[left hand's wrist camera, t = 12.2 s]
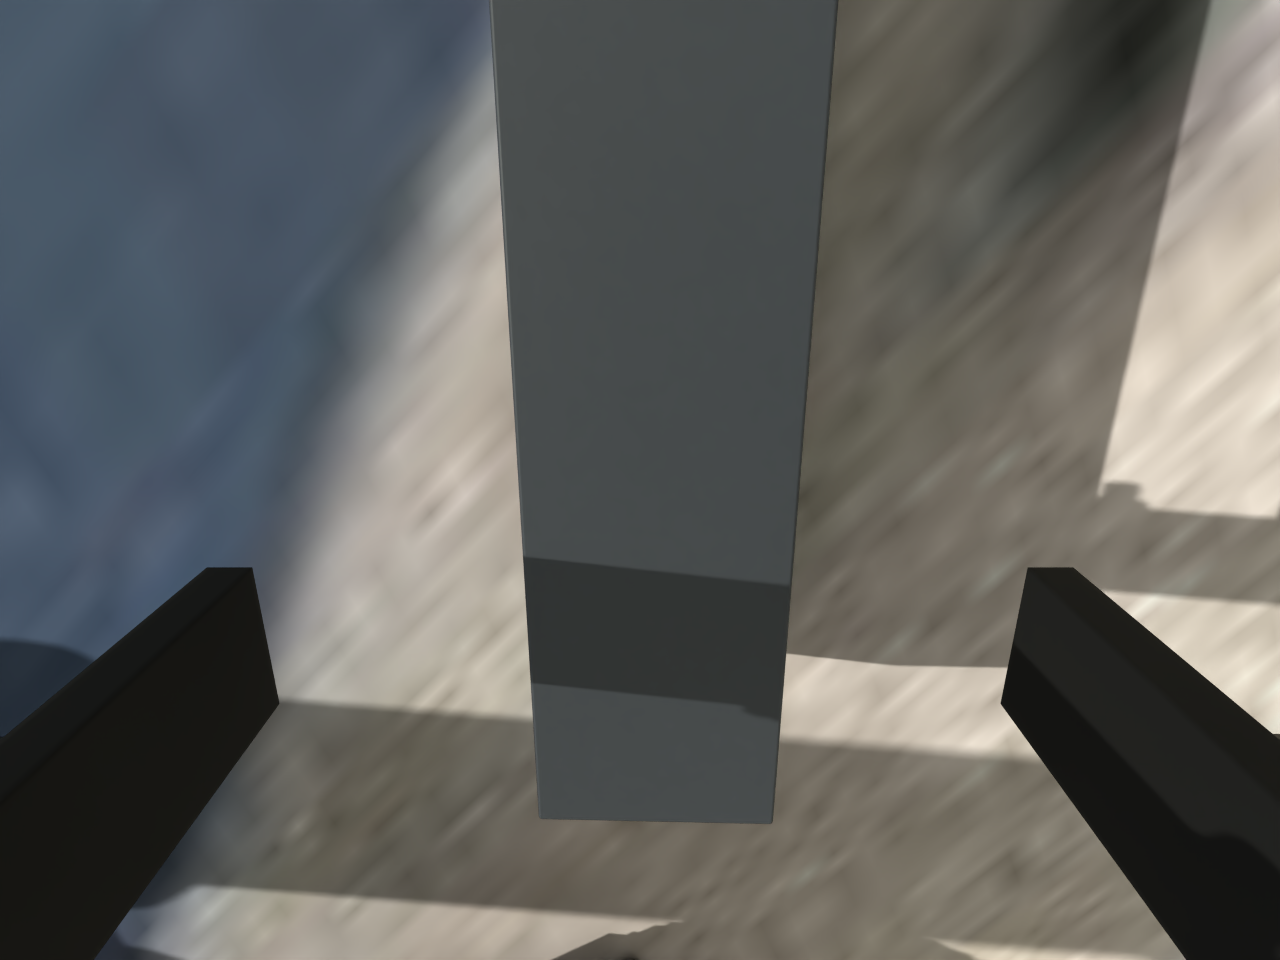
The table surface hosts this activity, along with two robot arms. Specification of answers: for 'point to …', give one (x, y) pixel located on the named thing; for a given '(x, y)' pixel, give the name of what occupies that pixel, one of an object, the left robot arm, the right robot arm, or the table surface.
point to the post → (660, 383)
